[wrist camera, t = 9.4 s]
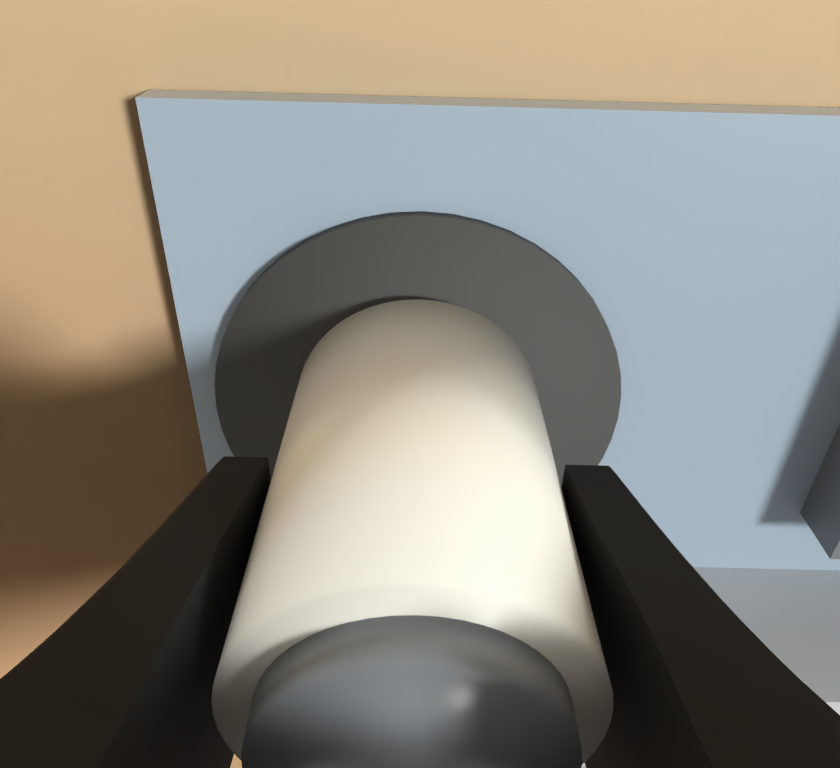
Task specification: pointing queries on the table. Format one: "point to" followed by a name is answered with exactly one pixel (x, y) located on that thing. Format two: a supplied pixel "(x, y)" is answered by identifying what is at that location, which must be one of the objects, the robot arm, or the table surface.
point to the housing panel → (599, 274)
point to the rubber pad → (428, 280)
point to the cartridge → (414, 565)
